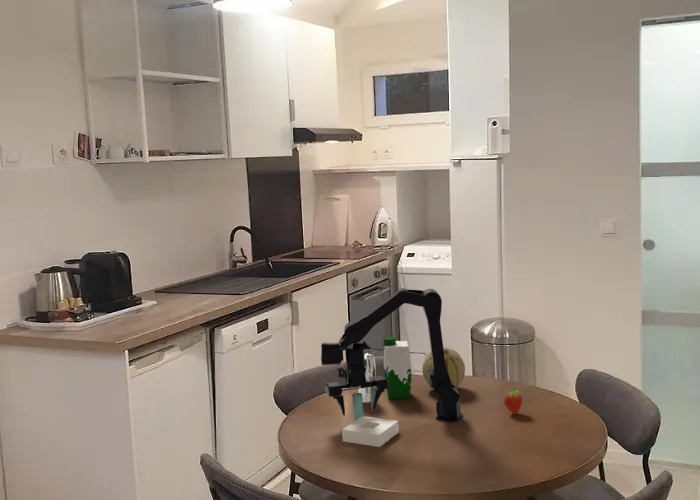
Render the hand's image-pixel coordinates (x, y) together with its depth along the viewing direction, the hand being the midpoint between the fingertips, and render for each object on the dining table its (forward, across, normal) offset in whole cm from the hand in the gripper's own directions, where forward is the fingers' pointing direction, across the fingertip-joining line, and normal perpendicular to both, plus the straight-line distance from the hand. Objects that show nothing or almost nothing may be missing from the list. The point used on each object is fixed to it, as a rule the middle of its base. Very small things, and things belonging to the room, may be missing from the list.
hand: (358, 413), depth 227 cm
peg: (+3, 0, 0) cm, 3 cm away
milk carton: (+3, -20, -20) cm, 28 cm away
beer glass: (+3, -8, -20) cm, 22 cm away
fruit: (+3, -46, +12) cm, 48 cm away
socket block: (+3, 0, +13) cm, 13 cm away
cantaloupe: (+3, -36, -19) cm, 41 cm away
